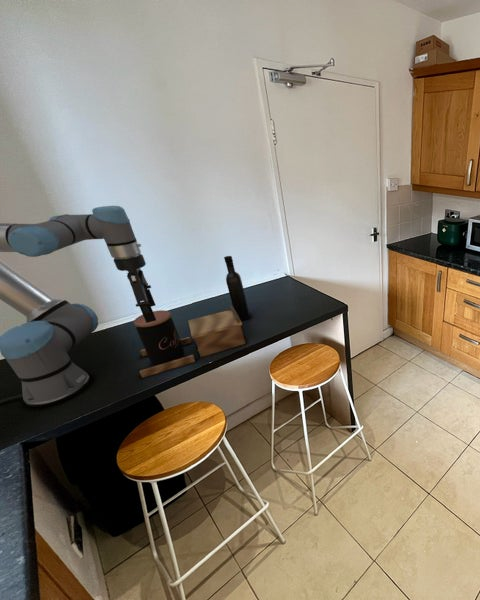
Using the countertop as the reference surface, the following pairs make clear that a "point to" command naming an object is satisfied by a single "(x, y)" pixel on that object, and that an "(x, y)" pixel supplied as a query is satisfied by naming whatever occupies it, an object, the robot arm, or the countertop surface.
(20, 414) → the countertop surface
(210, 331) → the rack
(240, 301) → the wine bottle
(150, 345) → the coffee jar
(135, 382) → the countertop surface
